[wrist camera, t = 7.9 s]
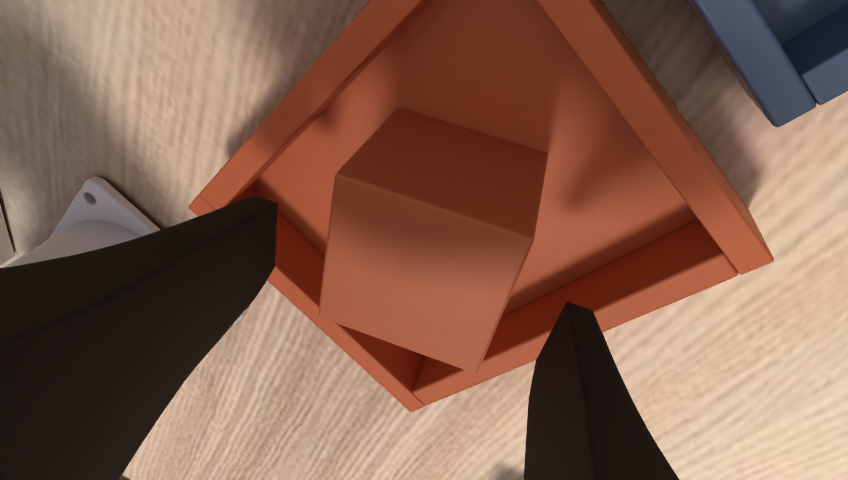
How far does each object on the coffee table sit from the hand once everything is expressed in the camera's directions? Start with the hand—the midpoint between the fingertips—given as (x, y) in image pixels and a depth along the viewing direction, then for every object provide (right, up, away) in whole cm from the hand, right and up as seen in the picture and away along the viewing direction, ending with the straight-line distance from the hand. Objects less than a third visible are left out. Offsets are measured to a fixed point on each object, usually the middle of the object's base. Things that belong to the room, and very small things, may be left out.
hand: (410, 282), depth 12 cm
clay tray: (+1, +3, +4) cm, 5 cm away
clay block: (+1, +2, +3) cm, 4 cm away
